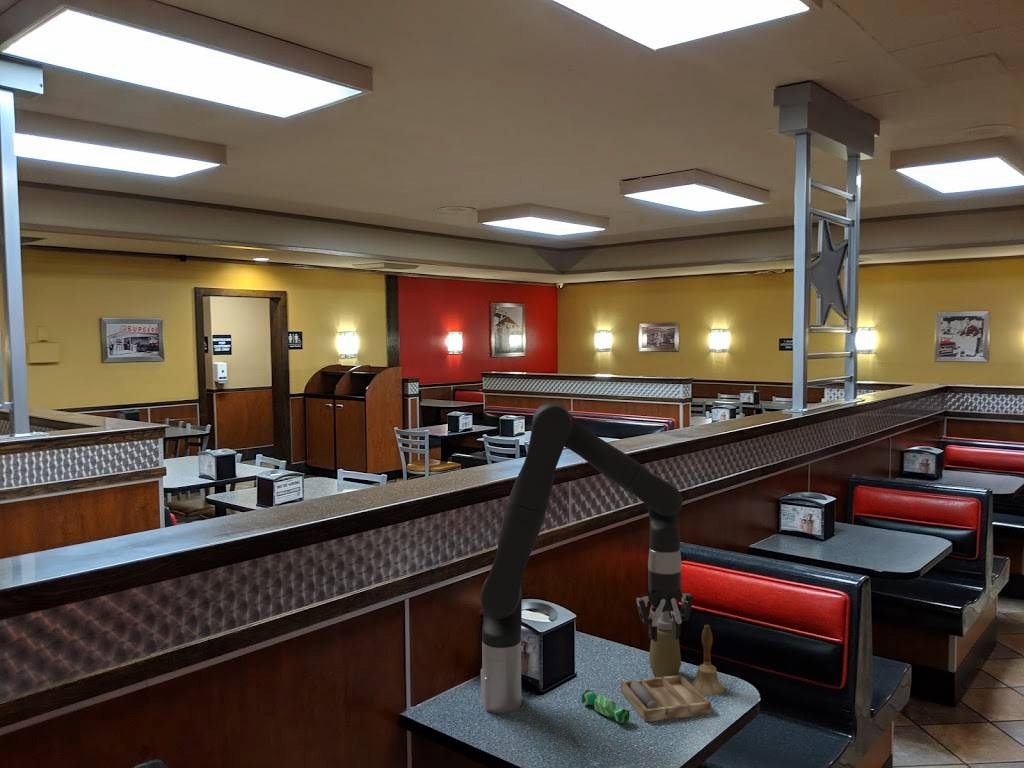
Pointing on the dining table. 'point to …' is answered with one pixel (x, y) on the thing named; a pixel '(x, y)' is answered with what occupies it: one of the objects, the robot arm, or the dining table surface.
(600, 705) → the candy
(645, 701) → the grey capsule rod
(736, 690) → the dining table surface
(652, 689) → the wooden compartment tray
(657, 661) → the squeeze bottle
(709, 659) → the hand bell
